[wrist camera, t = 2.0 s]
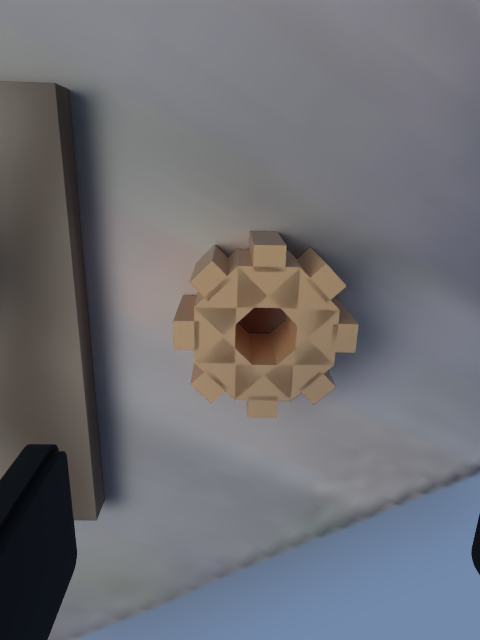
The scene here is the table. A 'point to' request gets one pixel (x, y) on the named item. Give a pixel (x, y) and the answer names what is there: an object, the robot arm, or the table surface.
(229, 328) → the tan gear
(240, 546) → the table surface
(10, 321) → the gear board
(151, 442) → the table surface
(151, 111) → the table surface
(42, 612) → the robot arm
